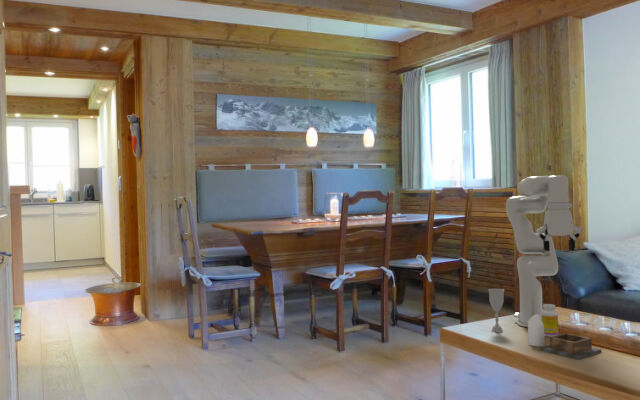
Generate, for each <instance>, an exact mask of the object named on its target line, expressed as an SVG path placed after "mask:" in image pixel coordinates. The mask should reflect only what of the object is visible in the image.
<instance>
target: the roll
mask: <svg viewBox="0 0 640 400" xmlns="http://www.w3.org/2000/svg"><path fill="white" fill-rule="evenodd" d="M527 336H528V337H527V341H528V342H527V345H529V346H531V347H544V346H545V336H544V325H543V323H542V321H541V320H540V316H539V315H538V314H536V315H534V316H532V317H531V319H530V320H529V321H528V327H527Z"/></svg>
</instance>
